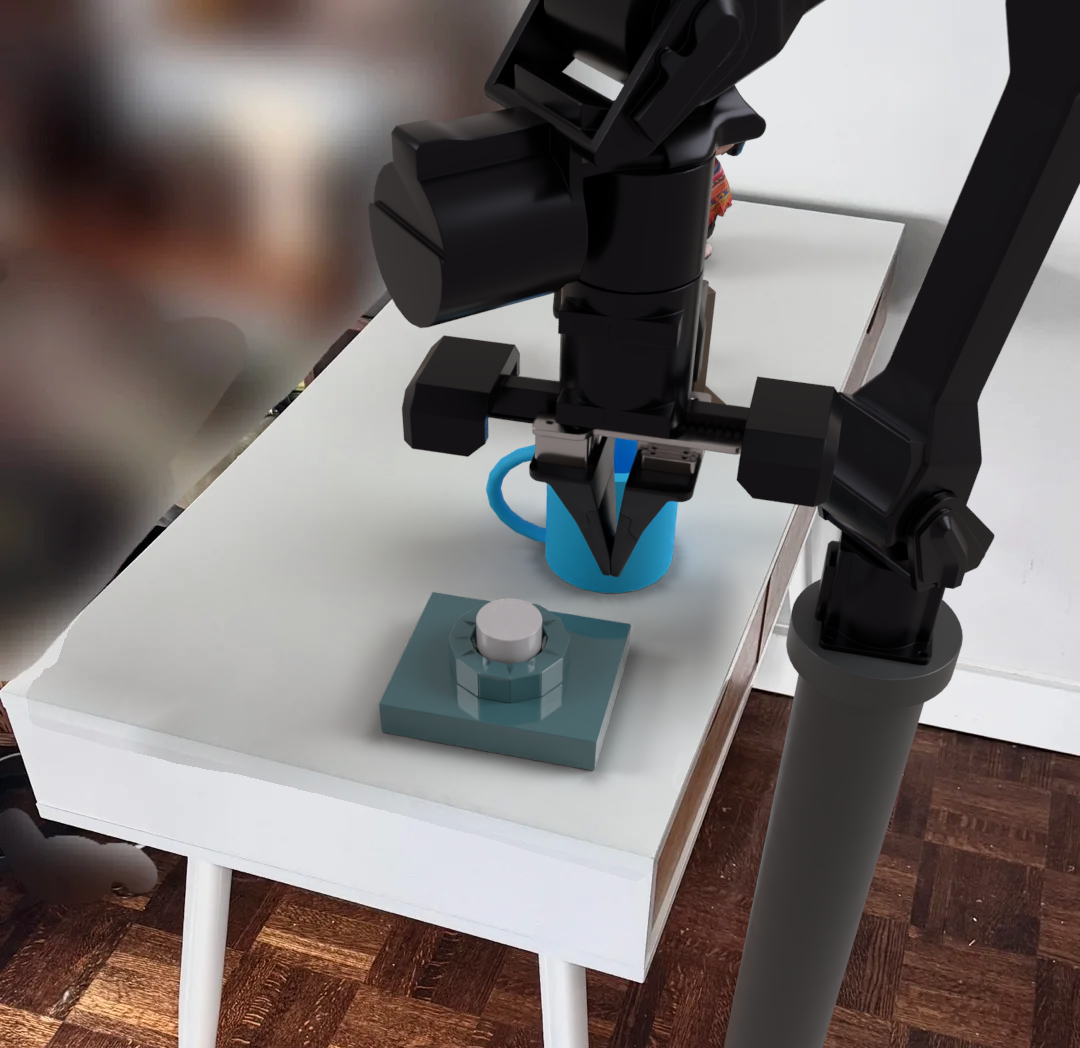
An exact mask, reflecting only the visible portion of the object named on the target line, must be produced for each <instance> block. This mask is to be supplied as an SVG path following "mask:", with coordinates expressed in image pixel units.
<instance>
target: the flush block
mask: <svg viewBox="0 0 1080 1048" xmlns="http://www.w3.org/2000/svg"><path fill="white" fill-rule="evenodd" d="M492 601H493V600H486V599H478V598H474V597H466V596H461V595H454V594H448V593H443V592H435V591H432V592H431V594H430V596H429V598H428V600H427V601H426V605H425V606H424V608H423V611H422V613H421V615H420V617H419V619H418V621H417V623H416V625H415V627H414V630H413V632H412V633H411V636H410V637H409V639H408V641H407V644H406V646H405V648H404V650H403V653H402V654H401V657H400V659H399V661H398V663H397V664H396V667H395V669H394V671H393V672H392V675H391V678H390V680H389V682H388V684H387V686H386V687H385V690H384V692H383V694H382V697H381V699H380V701H379V703H378V708H379V718H380V729H381V730H380V731H381V733H382V734H383V733H384V734H390V735H395V736H400V737H404V738H405V737H406V738H412V739H417V740H421V741H422V740H423V741H427V742H428V741H429V742H433V743H438V744H439V743H440V744H444V745H449V746H455V747H460V748H466V749H471V750H477V751H483V752H489V753H494V754H500V755H504V756H510V757H516V758H521V759H527V760H532V761H537V762H538V761H539V762H543V763H548V764H549V763H550V764H554V765H555V764H556V765H560V766H565V767H571V768H576V769H582V770H589V771H592V772H593V771H596V767H597V764H598V762H599V761H598V760H599V756H600V755H601V750H602V747H603V743H604V740H605V737H606V733H607V729H608V727H609V722H610V719H611V716H612V713H613V709H614V705H615V702H616V698H617V695H618V692H619V689H620V685H621V681H622V678H623V675H624V671H625V668H626V664H627V662H628V658H629V654H630V649H631V648H630V647H631V634H632V624H631V623H627V622H620V621H615V620H607V619H602V618H596V617H590V616H584V615H578V614H572V613H565V612H559V611H553V610H548V609H547V608H545V607H544V606H542V605H540V604H538V603H531V602H530V603H531V604H532V605H534V606H535V607H536V608H537V609H538V610H539V611H540V613H541V615H542V646H541V649H540V651H539V652H538V653H537V654H536V656H534V657H533V658H531V659H530V660H528V661H524V662H518V663H513V664H506V663H500V662H494V661H491V660H489V659H487V658H485V657H484V656H483V655H482V654H481V653H480V651H479V650H478V648H477V641H476V616H477V614H478V612H479V610H480V609H481V608H482V607H483V606H484V605H486V604H488V603H489V602H492Z"/></svg>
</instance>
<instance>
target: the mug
mask: <svg viewBox="0 0 1080 1048" xmlns="http://www.w3.org/2000/svg"><path fill="white" fill-rule="evenodd" d="M636 452H637V441H635V440H627V439H620V438H615V449H614V475H615V496H616V518H617V524H618V519H619V514H620V509H621V504H622V499H623V494H624V489H625V485H626V482H627V479H628V476H629V473H630V470H631V467H632V464H633V461H634V458H635V455H636ZM534 453H535V444H531V445H527V446H523V447H520V448H517V449H515V450H513V451H511V452H510V453H508V454H506V455H505V456H503V457H501V458H500V459H499V460H498V461H497V462H496V464H495V465H494V466H493V468H491V470H490V472H489V473H488V478H487V483H486V487H485V491H486V496H487V500H488V504H489V508H491V510H492V511H493V512H494V514H495V515H496V517H497V518H498V519H499V521H500V522H502V523H503V524H504V525H505V526H507V527H508V528H509V529H511V530H512V531H513V532H515V533H517V534H518V535H521V536H523V537H525V538H527V539H529V540H532V541H535V542H539V543H543V544H545V554H544V555H545V556H544V558H545V560H546V562H547V564H548V566H549V568H550V571H552V572H553V573H554V574H555V575H557V576H558V577H559V578H560V579H561V580H562V581H564V582H566V583H568V584H570V585H572V586H574V587H576V588H578V589H581V590H586V591H590V592H591V591H592V592H595V593H600V594H622V593H623V594H624V593H628V592H633V591H640V590H642V589H644V588H647V587H649V586H651V585H653V584H655V583H657V582H658V581H660V579H661V578H662V577H663V576H665V575H666V574H667V573H668V570H669V568H670V566H671V564H672V562H673V557H674V555H673V554H674V547H675V546H674V545H675V535H676V525H677V517H678V508H679V507H678V506H679V502H674V501H669V502H667V503H666V504H665V505H664V507H663V508H662V509H661V510H660V511H659V513H658V514H657V515H656V516H655V518H654V519H653V520H652V521H651V523H650V524H649V525H648V526H647V527H646V529H645V530H644V531H643V533H642V535H641V536H640V538H639V540H638V542H637V544H636V546H635V548H634V550H633V552H632V553H631V555H630V557H629V559H628V561H627V563H626V565H625V567H624V569H623V571H622V573H621V574H620V576H619V577H613V576H607V575H603V574H602V572H601V570H600V568H599V566H598V564H597V562H596V560H595V558H594V556H593V554H592V552H591V550H590V548H589V546H588V544H587V542H586V540H585V538H584V537H583V535H582V533H581V531H580V529H579V527H578V525H577V523H576V522H575V520H574V519H573V517H572V516H571V514H570V513H569V511H568V510H567V509H566V507H565V506H564V504H563V503H562V501H561V500H560V499H559V497H558V496H557V494H556V493H555V491H554V490H553V489H552V487H551V486H550V485H549V484H547V483H546V499H545V500H546V503H545V506H546V507H545V527H543V526H540V525H538V524H535V523H533V522H531V521H528V520H526V519H524V518H523V517H521V515H519V514H517V513H516V512H515V511H513V510H512V509H511V507H510V506H509V504H508V503H507V502H506V500H505V498H504V495H503V490H502V486H503V482H504V479H505V477H506V476H507V475H508V474H509V473H510V471H511V470H513V469H515V468H516V467H518V466H520V465H521V464H523V463H524V464H525V463H528V462H531V460H532V458H533V455H534Z"/></svg>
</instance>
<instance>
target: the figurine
mask: <svg viewBox="0 0 1080 1048" xmlns="http://www.w3.org/2000/svg"><path fill="white" fill-rule="evenodd" d="M746 142H747V141H744V142H740V143H736V144H731V145H727V146H723V147H720V148H718V149H716V156H715V166H714V175H713V185H712V194H711V204H710V213H709V223H708V232H707V240H709V239H710V240H712V238H711V237H712V235H713V234H714V233H713V232H714V231H715V227H716V221H717V218H718V217H722V218H724V216H726V212H727V210H728V209H730V208H731V207H732V206H733V203H732V202H733V198H732V192H731V187H730V183H729V180H728V178H727V176H726V174H725V171H724V169H723V166H722V164H721V162H720V160H719V159H718V158H717V156H724V155H725V154H727V155H728V156H730V157H738V156H739V155H740V154H742V151H743V149H744V147H745V144H746ZM710 240H709V241H710ZM712 252H713V247H712V245H711V244H710V243H709V242H706V251H705V261H707V260H708V259H709V258H710V257H711V256H712Z"/></svg>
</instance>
